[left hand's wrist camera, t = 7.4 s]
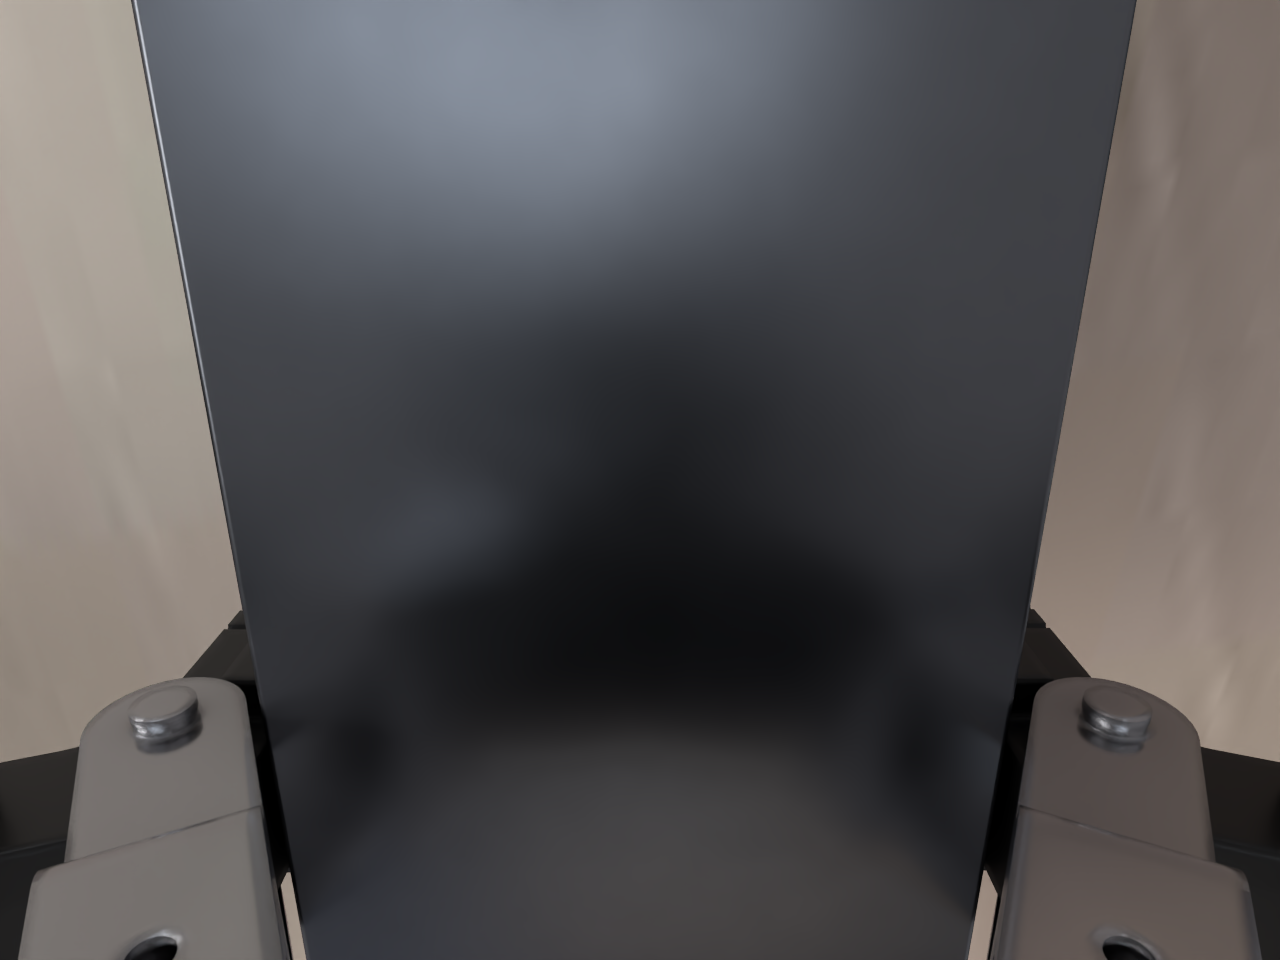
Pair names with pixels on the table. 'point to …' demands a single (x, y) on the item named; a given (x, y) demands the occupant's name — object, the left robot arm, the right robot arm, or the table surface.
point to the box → (635, 446)
